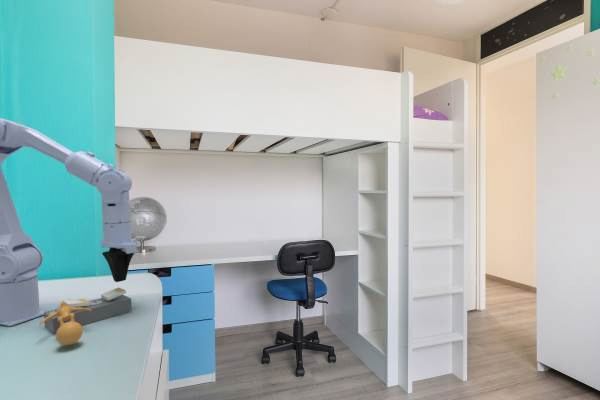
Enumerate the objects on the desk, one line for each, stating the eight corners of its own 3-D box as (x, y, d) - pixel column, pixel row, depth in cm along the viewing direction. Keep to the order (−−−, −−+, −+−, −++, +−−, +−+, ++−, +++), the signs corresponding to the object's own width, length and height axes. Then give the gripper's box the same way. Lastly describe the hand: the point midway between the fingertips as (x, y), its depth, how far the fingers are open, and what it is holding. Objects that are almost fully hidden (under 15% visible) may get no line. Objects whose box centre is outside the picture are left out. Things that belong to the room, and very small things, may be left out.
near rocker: (67, 309, 69) (68, 303, 69) (61, 306, 72) (62, 300, 72) (89, 307, 72) (90, 301, 72) (83, 304, 75) (84, 298, 75)
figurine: (40, 343, 56) (34, 294, 64) (45, 366, 59) (38, 317, 67) (97, 325, 61) (85, 282, 69) (99, 347, 64) (87, 303, 72)
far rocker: (108, 302, 75) (107, 297, 75) (102, 299, 78) (100, 294, 77) (126, 294, 78) (125, 289, 78) (119, 291, 81) (118, 287, 80)
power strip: (53, 334, 67) (52, 317, 66) (44, 326, 70) (44, 310, 70) (131, 311, 78) (131, 297, 78) (120, 305, 82) (119, 292, 82)
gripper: (149, 222, 77) (152, 281, 77) (121, 219, 86) (124, 272, 87) (116, 225, 71) (119, 289, 72) (90, 222, 81) (93, 278, 81)
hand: (120, 280), depth 79 cm, fingers closed
